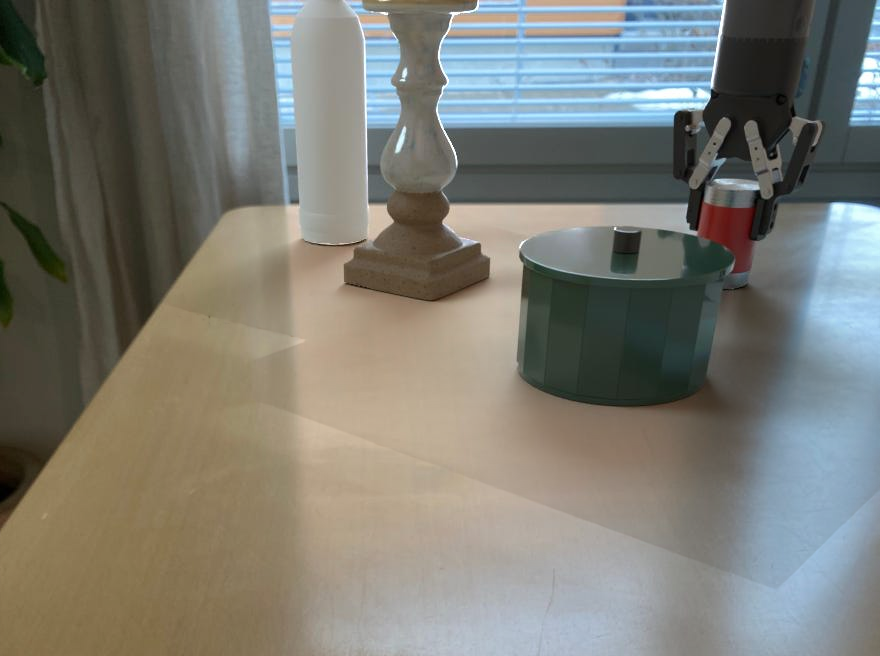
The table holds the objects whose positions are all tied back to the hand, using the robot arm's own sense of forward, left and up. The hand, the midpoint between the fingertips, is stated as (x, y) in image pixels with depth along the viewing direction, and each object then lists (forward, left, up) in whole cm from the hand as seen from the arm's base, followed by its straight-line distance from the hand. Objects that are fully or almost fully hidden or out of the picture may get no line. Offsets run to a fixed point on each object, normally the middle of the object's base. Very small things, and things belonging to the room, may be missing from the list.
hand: (726, 233), depth 95 cm
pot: (+17, +24, -5) cm, 30 cm away
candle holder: (+30, -3, -5) cm, 30 cm away
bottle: (+38, -21, -5) cm, 44 cm away
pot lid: (+17, +24, +4) cm, 30 cm away
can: (0, 0, -5) cm, 5 cm away
